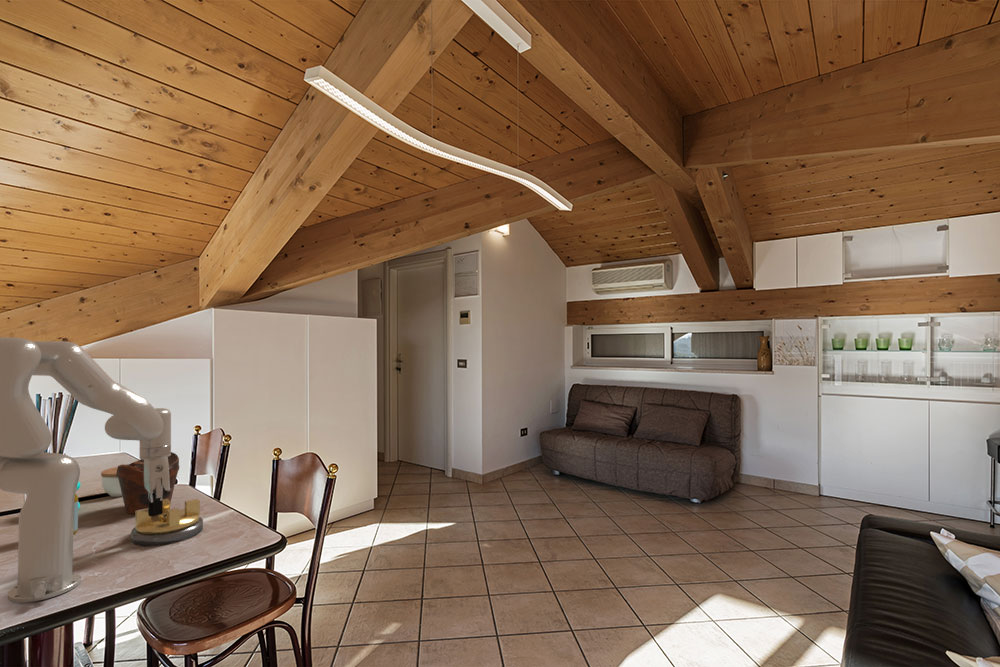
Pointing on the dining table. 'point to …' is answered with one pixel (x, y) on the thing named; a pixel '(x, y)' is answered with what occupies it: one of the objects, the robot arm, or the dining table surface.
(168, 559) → the dining table surface
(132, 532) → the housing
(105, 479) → the lidded bowl
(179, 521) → the gold crown turntable
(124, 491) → the brown chunky piece
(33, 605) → the dining table surface
